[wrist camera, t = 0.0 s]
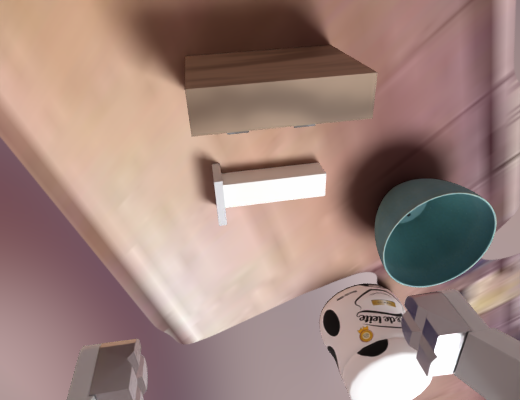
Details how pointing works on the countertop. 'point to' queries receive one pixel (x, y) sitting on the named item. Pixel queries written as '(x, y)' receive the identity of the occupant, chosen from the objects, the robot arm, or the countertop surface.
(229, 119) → the brown wooden block
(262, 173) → the white t-shaped piece
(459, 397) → the countertop surface
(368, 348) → the milk container
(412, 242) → the teal bowl
